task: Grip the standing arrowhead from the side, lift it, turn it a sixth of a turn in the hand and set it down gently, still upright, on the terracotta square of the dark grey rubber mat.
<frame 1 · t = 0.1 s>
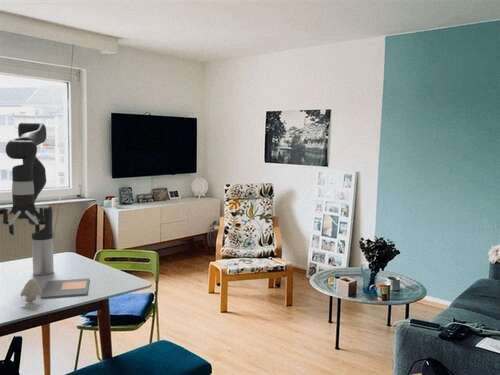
hand: (24, 234, 176), 29 cm above the table, tool pointing down, fingers open, 8 cm apart
arrowhead: (31, 303, 183), on the table
mat: (66, 288, 200), on the table
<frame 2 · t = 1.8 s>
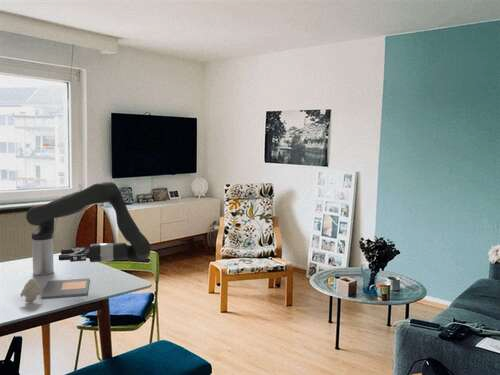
hand: (59, 255, 184), 19 cm above the table, tool horizontal, fingers open, 8 cm apart
nothing on the table moved.
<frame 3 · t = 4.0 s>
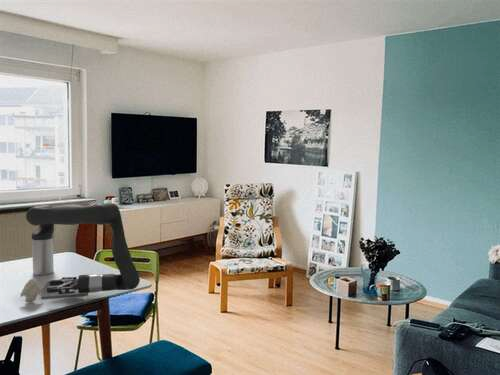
hand: (48, 286, 185), 6 cm above the table, tool horizontal, fingers open, 8 cm apart
nothing on the table moved.
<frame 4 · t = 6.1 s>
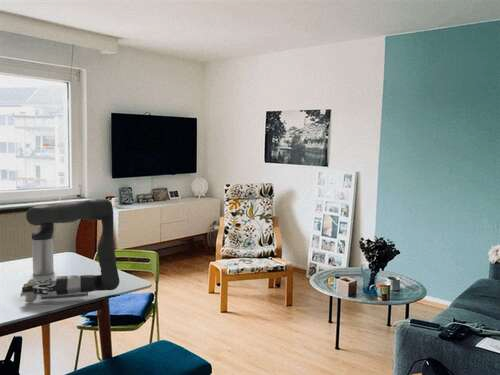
hand: (23, 288, 182), 6 cm above the table, tool horizontal, fingers closed on arrowhead, 2 cm apart
arrowhead: (31, 302, 183), on the table, touching gripper
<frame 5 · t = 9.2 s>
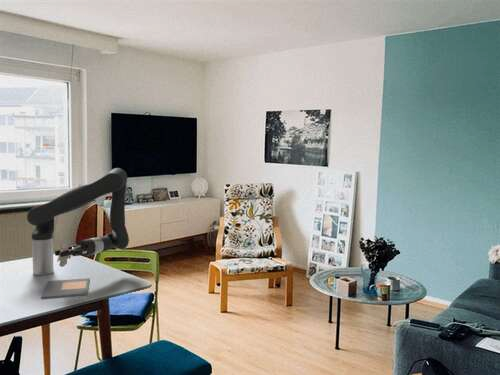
hand: (58, 253, 193), 17 cm above the table, tool horizontal, fingers closed on arrowhead, 2 cm apart
arrowhead: (64, 267, 196), point 11 cm above the table, touching gripper
when the fingers open (7 cm above the table, at t = 11.9 s): arrowhead stays where it is, resting on mat.
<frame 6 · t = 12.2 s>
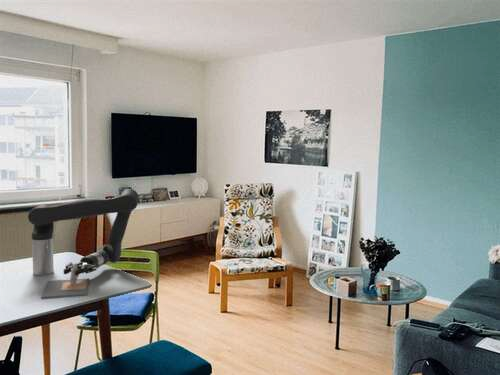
hand: (70, 272, 198), 8 cm above the table, tool horizontal, fingers open, 5 cm apart
arrowhead: (74, 285, 202), point 1 cm above the table, touching mat
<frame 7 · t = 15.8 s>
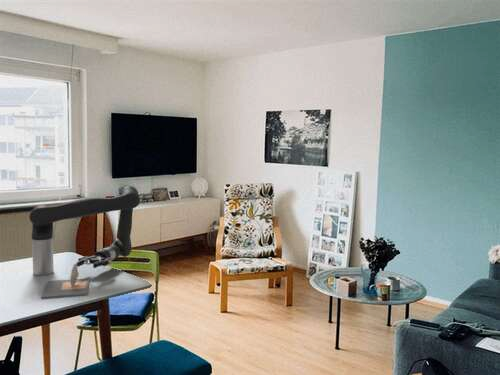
hand: (85, 265, 210), 8 cm above the table, tool horizontal, fingers open, 8 cm apart
nothing on the table moved.
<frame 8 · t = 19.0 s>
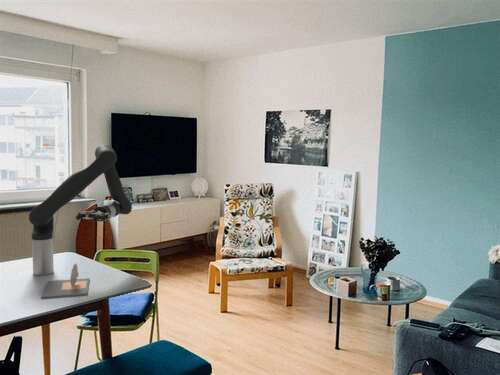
hand: (85, 218, 206), 30 cm above the table, tool horizontal, fingers open, 8 cm apart
nothing on the table moved.
at the end: arrowhead inside the target area on the mat (0.2 cm from its centre), point 0.8 cm above the mat's base; arrowhead tilted 0°; the gripper is holding nothing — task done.
